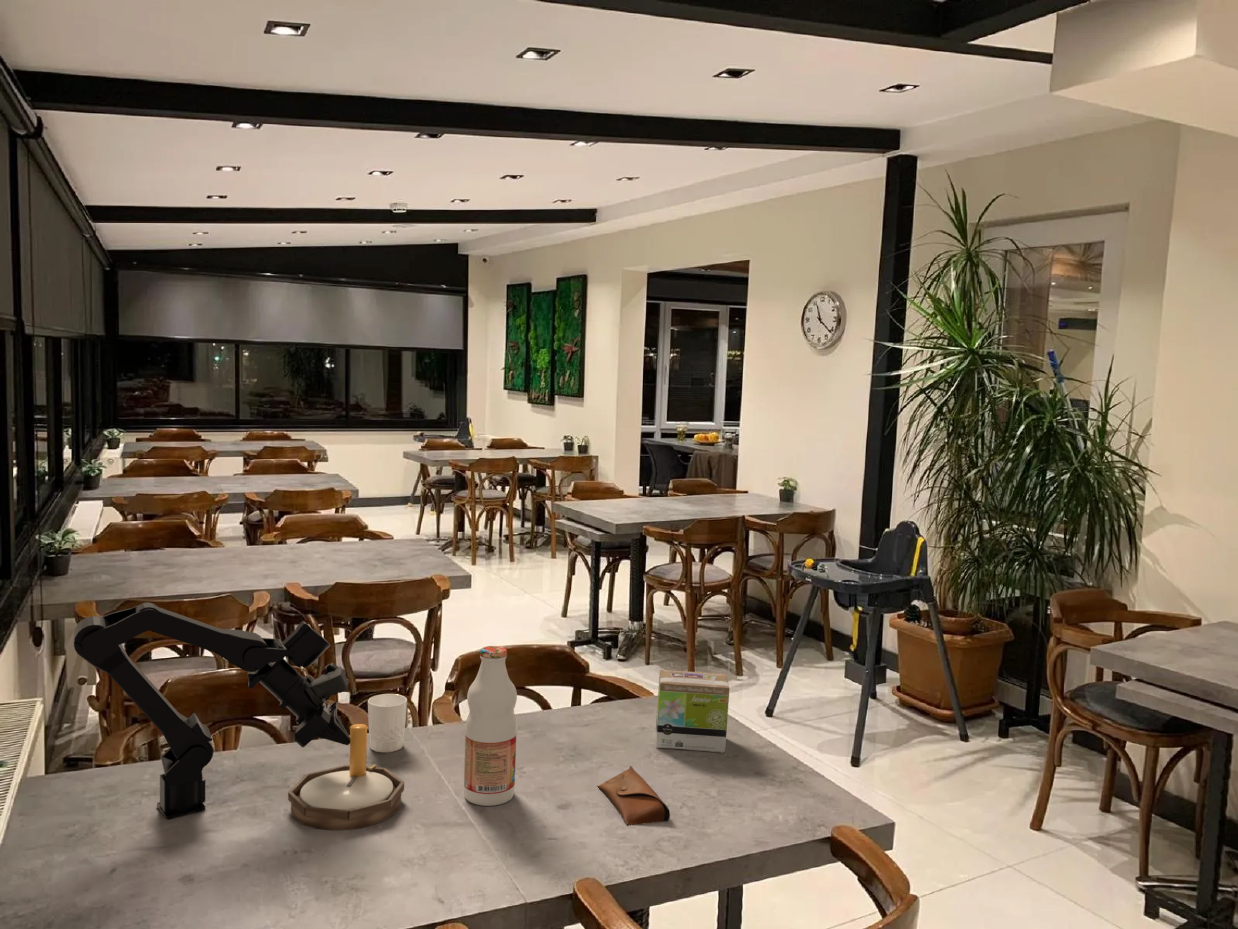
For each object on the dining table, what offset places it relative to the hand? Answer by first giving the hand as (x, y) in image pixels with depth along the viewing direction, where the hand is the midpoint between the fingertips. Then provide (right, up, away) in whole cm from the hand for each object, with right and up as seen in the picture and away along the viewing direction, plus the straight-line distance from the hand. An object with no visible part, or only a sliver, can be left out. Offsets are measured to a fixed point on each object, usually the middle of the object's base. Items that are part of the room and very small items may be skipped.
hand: (349, 743), depth 178 cm
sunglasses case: (+52, -12, 0) cm, 54 cm away
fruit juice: (+26, -10, 0) cm, 28 cm away
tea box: (+66, -9, +31) cm, 73 cm away
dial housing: (+1, -9, -6) cm, 11 cm away
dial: (+1, -7, -6) cm, 10 cm away
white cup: (+2, -7, +21) cm, 23 cm away
